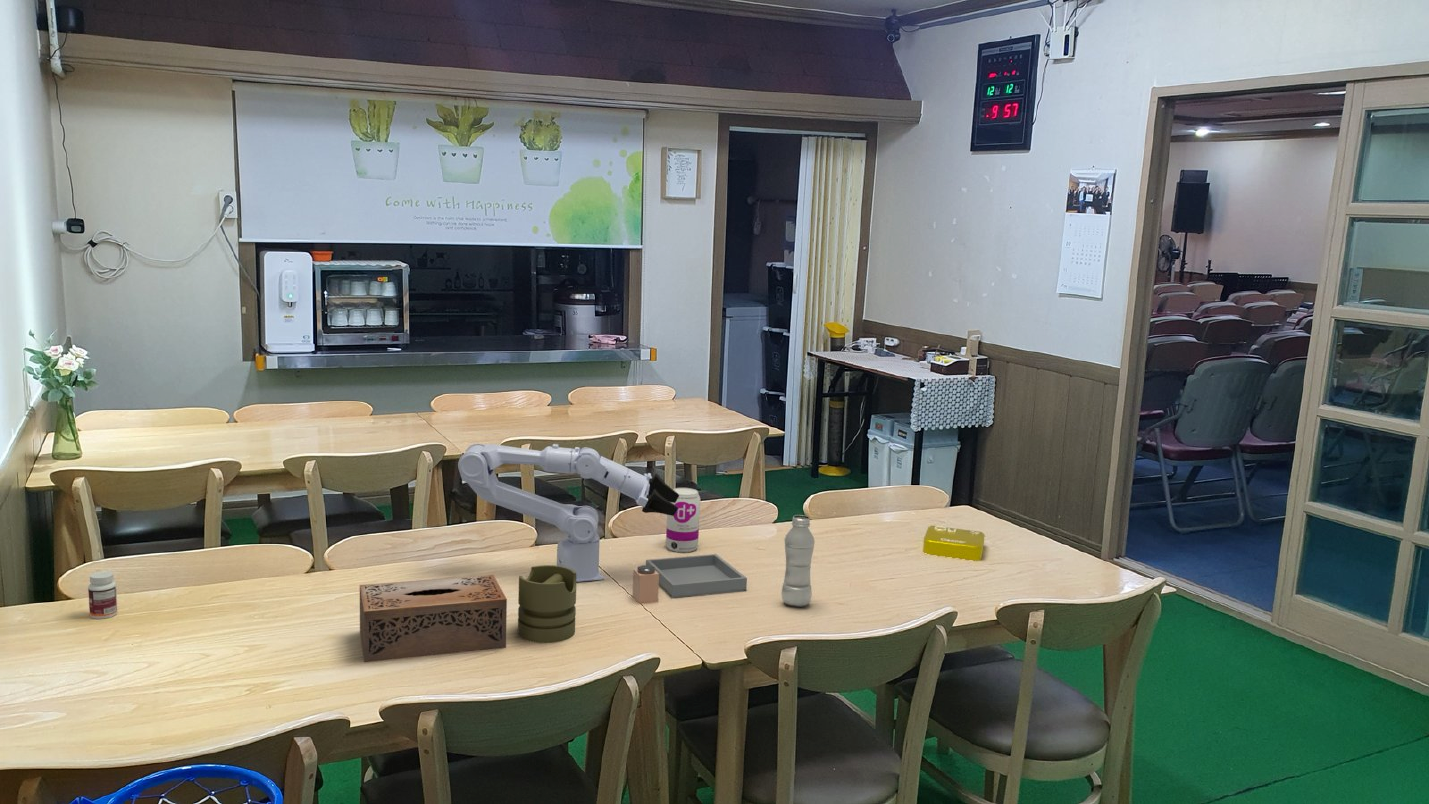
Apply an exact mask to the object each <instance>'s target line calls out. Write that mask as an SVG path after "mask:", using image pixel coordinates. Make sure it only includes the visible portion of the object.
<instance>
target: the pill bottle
mask: <svg viewBox="0 0 1429 804" xmlns="http://www.w3.org/2000/svg"><path fill="white" fill-rule="evenodd" d="M114 576H115V575H114V572H112V571H109V570H105V571H97V572H93V573H91V574H90V575H89V582H90V584H89V585H88V589H87V591H88V605H89V606H88V607H89V609H88V610H89V617H90V618H91V619H94V620H95V619H96V620H97V619H98V620H103V619H104V620H105V619H109V618H112V617H114V616H116V615H117V614H118V599H117V598H118V597H117V596H118V595H117V591H118V590H117V584H116V582H115V581H114V579H115V578H114Z"/></svg>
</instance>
